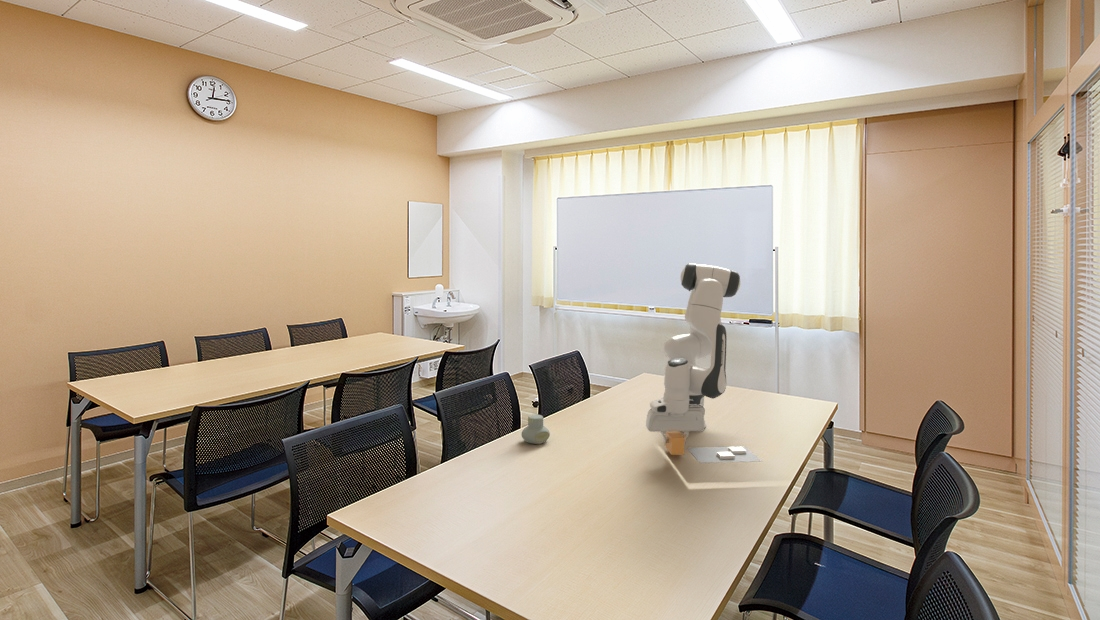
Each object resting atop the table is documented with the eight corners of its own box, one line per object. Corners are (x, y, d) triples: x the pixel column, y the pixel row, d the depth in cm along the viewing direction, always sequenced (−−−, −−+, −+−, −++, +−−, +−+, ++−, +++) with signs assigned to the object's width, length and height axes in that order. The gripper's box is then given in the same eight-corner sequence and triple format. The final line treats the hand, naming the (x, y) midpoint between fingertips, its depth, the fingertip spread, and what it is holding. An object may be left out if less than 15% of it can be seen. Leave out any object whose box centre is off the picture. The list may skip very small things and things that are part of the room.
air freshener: (530, 447, 204) (530, 421, 203) (518, 441, 211) (517, 416, 210) (553, 441, 211) (553, 416, 209) (541, 435, 217) (541, 411, 216)
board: (699, 466, 187) (699, 462, 187) (686, 451, 201) (686, 447, 201) (761, 465, 188) (762, 461, 188) (744, 450, 202) (744, 446, 202)
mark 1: (720, 458, 190) (720, 456, 190) (716, 454, 194) (716, 451, 194) (734, 458, 190) (734, 455, 190) (730, 454, 194) (730, 451, 194)
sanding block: (684, 454, 189) (684, 438, 188) (671, 454, 189) (671, 438, 188) (676, 444, 198) (677, 429, 197) (664, 445, 198) (665, 429, 197)
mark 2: (732, 453, 195) (732, 451, 195) (728, 449, 199) (728, 447, 199) (746, 453, 195) (746, 450, 195) (741, 449, 199) (741, 446, 199)
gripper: (702, 402, 195) (700, 439, 197) (645, 402, 194) (644, 439, 196) (708, 407, 189) (706, 445, 191) (649, 407, 188) (648, 446, 190)
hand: (674, 442), depth 193 cm, fingers closed on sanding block, 4 cm apart
